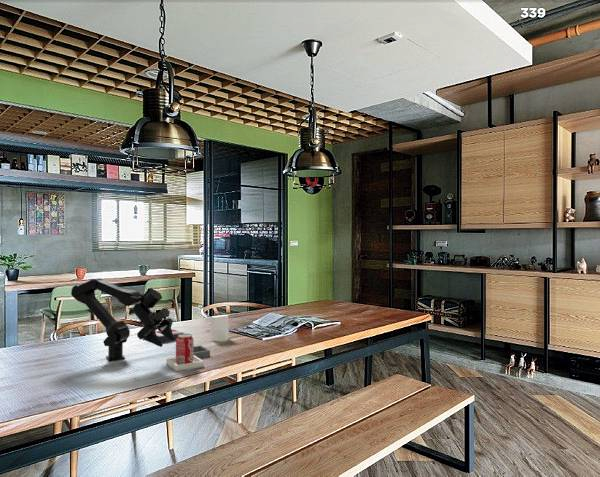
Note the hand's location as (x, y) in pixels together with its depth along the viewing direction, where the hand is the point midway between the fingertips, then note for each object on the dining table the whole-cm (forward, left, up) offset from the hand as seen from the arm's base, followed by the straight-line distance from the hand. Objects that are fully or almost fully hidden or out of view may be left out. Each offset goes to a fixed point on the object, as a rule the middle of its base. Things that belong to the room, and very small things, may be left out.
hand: (168, 343), depth 182 cm
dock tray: (+6, +5, -8) cm, 12 cm away
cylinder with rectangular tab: (-26, +36, -9) cm, 45 cm away
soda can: (+6, +5, -8) cm, 11 cm away
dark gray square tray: (-6, +14, -8) cm, 17 cm away
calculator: (-41, +13, -9) cm, 44 cm away
